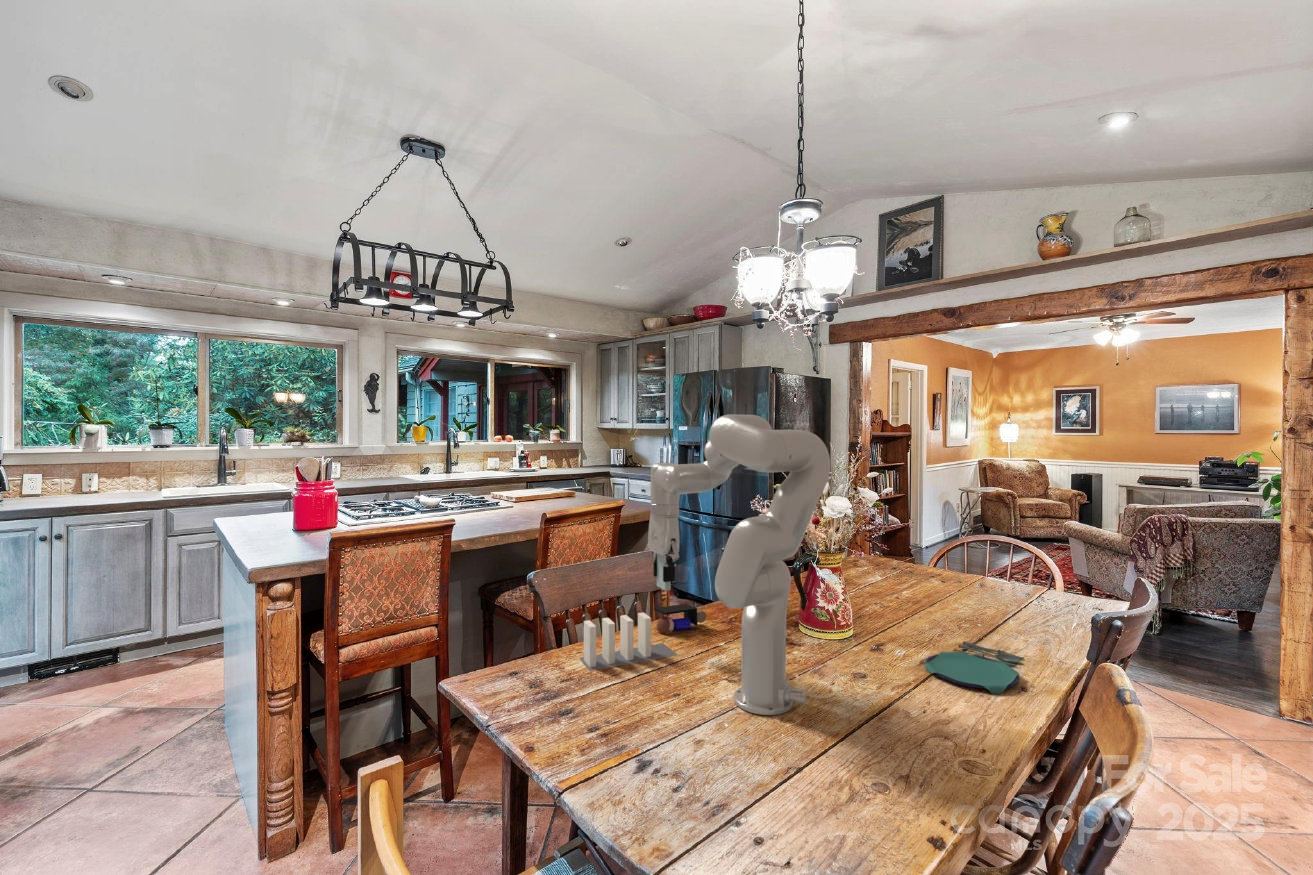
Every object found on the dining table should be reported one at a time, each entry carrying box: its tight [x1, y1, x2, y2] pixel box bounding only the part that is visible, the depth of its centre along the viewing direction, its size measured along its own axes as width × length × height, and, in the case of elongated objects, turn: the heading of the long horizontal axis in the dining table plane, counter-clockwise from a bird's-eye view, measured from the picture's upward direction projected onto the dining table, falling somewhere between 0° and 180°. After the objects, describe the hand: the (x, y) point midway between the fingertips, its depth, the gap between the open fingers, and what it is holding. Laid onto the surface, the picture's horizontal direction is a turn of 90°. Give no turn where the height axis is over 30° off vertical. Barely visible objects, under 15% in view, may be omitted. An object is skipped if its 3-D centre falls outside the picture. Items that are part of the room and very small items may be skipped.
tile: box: [656, 552, 672, 591], centre depth 153 cm, size 2×5×10 cm, turn 26°
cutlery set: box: [924, 640, 1025, 695], centre depth 143 cm, size 20×30×2 cm, turn 134°
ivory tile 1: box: [637, 612, 652, 657], centre depth 152 cm, size 2×5×10 cm, turn 25°
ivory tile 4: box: [583, 620, 597, 667], centre depth 146 cm, size 2×5×10 cm, turn 25°
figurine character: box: [653, 603, 707, 635], centre depth 171 cm, size 7×8×15 cm
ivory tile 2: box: [619, 614, 634, 661], centre depth 150 cm, size 2×5×10 cm, turn 25°
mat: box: [578, 642, 678, 672], centre depth 150 cm, size 24×9×1 cm, turn 115°
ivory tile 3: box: [601, 617, 616, 664], centre depth 148 cm, size 2×5×10 cm, turn 25°
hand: (663, 577), depth 153 cm, fingers closed on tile, 4 cm apart
